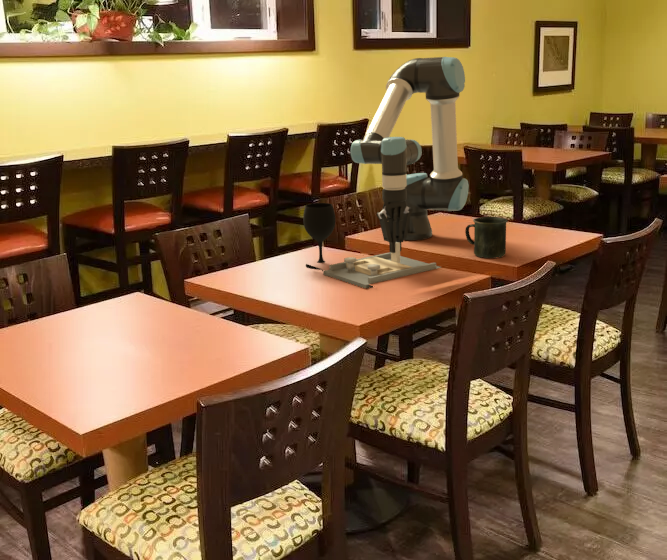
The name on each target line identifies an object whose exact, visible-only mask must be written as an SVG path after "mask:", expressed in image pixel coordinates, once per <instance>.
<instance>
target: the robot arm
mask: <svg viewBox="0 0 667 560" xmlns="http://www.w3.org/2000/svg"><path fill="white" fill-rule="evenodd" d="M465 75H466V74H465V69H464V66H463V64H462V63H461V60H460V59H459V58H458V57H451V56H450V57H449V56H439V57H436V56H434V57H417V58H412V59H410V60H408V61H406V62H404V63H402V64H401V65H400V66H399V67H397V69H396V70H394V72H392V74H391V76H389V78H388V80H387V82H386V84H385V93H384V95H383V98H382V99H381V101H380V104H379V105H378V108H377V109H376V112H375V113H374V116H373V118H372V120H371V123H370V124H369V126H368V128H367V131H366V132H365V135H364V136H363V138H362V139H356V140H354V141H353V142H352V143H351V146H350V157H351V160H352V161H353V162H354V163H357V164H364V165H381V187H382V188H383V189H382V193H381V195H382V202H383V206H382V210H381V211H380V212H379V211H377V212H376V216H377V218H378V220H379V224H380V228H381V233H382V238H383V241H384V242H388V243H389V252H391V261H393V262H397V263H400V256H401V252H402V243H404V241H420V240H425V239H430V238H431V237H433V229H432V226H431V223H430V219H429V217H428V210H432V211H445V212H452V211H454V212H455V211H461V210H462V209H463V208H464V206H465V204H466V203H467V199H468V195H469V190H470V189H469V186H470V185H469V181H468V179H466V177H465V178H464V177H463V172H462V171H461V170H460V169H459V165H458V164H459V163H458V161H459V159H458V137H457V135H458V134H457V114H456V109H457V108H456V102H457V100H458V99H460V93H462V92H463V91H464V89H465V87H466V86H465V83H466V76H465ZM417 93H419V94H421V93H423V94H425V100H426V101H428V102H429V104H430V121H431V140H432V160H433V161H432V162H433V170H432V171H431V172H430V174H429V177H428V173H426V172H417V173H411V174H409V173H408V174H407V166H408V165H412V164H414V163H416V162H418V161H419V160H420V158H421V156H422V151H423V150H422V146H421V144H420V143H419V142H418V141H417V140H415V139H406V138H405V137H404V136H391V134H392V132H393V129H394V128H395V126H396V124H397V121H398V119H399V118H400V114H401V113H402V110H403V108H404V106H405V105H406V102H407V101H409V100H410V99H411V97H412V96H413V95H414V94H417Z"/></svg>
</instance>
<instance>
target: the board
mask: <svg viewBox="0 0 667 560" xmlns="http://www.w3.org/2000/svg"><path fill="white" fill-rule="evenodd" d="M372 257H379V258H383V259H386V260H390V261H391V252H390V251H389V252H385V253H380V254H376V255H371V256H367V257H362V258H356V257H354V256H353V257H352V256H351V257H350V256H349V257H345V258H344V259H343V261H342V262H337V263H333V264H329V265H328V267H329V269H326V270H322V273H323V275H324V276H326V277H328V278H329V277H330V278H332V277H333V279H335V278H336V279H335V280H338V279H339V280H338V281H341V280H342V281H341V282H344V281H345V282H344V283H347V282H348V283H347V284H350V283H351V284H350V285H353V284H354V286H356V285H357V286H356V287H359V286H360V287H359V288H362V287H363V288H362V289H364V288H368V289H370V288H369V287H372V288H374V287H373V286H374V285H373V284H378V283H381V282H385V281H390V280H393V279H398V278H402V277H407V276H412V275H415V274H420V273H423V272H427V271H432V270H437V269H441V268H442V266H439V265H437V262H429V263H428V262H424V261H421V260H417V259H413V258H409V257H405V256H402V255H400V264H404V265H408V266H411V267H412V268H408V269H403V270H399V271H394V272H390V273H386V274H381V275H377V270H378V269H380V265H378V264H371V265H368V269H369V270H371V275H368V274H364V273H361V272H358V271H355V268H354V262H356V261H358V260H363V259H367V258H372ZM346 263H347V268H346Z"/></svg>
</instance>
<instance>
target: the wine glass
mask: <svg viewBox="0 0 667 560" xmlns="http://www.w3.org/2000/svg"><path fill="white" fill-rule="evenodd" d="M302 219H303V227H304V229H305V231H306V233H307V235H309V236H310V237H311V238H312V239H313V240H315V241H316V242H317V244H318V252H319V253H318V255H319V256H318V257H319V258H318V261H316V263H318V264H325V263H326V261H325V260H324V257H323V243H324V241H325V240H327V238H329V236H331V234H332V233H333V231H334V229H335V226H336V213H335V209H334V206H333V204H332V203H329V202H317V203H316V202H314V203H308V204H306V205H305V206H304V209H303V217H302ZM305 268H307V269H311V270H321V268H320V267H318V266H313V265H311V264H309V263H306V264H305Z"/></svg>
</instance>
